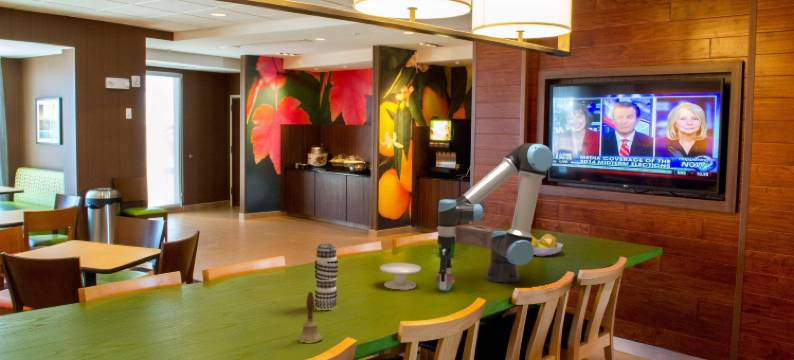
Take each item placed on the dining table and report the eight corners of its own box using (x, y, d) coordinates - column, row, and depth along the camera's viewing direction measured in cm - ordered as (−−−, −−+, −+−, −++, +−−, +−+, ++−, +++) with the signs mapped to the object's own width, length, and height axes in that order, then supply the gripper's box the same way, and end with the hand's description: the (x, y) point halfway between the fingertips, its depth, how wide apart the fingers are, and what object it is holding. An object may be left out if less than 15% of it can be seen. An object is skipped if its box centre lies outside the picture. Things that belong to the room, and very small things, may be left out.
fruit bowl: (567, 259, 359) (568, 238, 358) (517, 258, 360) (518, 237, 359) (556, 249, 387) (557, 230, 386) (510, 248, 388) (510, 229, 387)
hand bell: (292, 339, 220) (292, 292, 218) (310, 333, 226) (310, 288, 225) (310, 345, 214) (310, 297, 213) (327, 339, 221) (328, 292, 220)
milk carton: (438, 258, 355) (439, 221, 353) (438, 254, 364) (439, 218, 362) (454, 258, 354) (455, 221, 352) (454, 255, 363) (455, 219, 361)
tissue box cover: (455, 241, 405) (456, 225, 404) (471, 239, 414) (472, 223, 413) (487, 248, 385) (487, 231, 384) (503, 246, 395) (504, 229, 394)
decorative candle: (338, 305, 262) (339, 242, 259) (337, 311, 252) (337, 247, 250) (315, 304, 261) (315, 242, 259) (312, 311, 252) (313, 246, 250)
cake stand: (423, 283, 300) (424, 264, 299) (416, 292, 282) (416, 273, 282) (385, 280, 304) (385, 261, 303) (375, 289, 286) (375, 270, 286)
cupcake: (438, 292, 283) (439, 265, 282) (432, 287, 292) (433, 261, 291) (457, 291, 286) (458, 264, 285) (450, 287, 294) (451, 260, 293)
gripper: (442, 230, 298) (440, 278, 300) (433, 239, 276) (431, 291, 278) (458, 231, 297) (457, 280, 299) (451, 240, 275) (449, 292, 277)
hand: (444, 285), depth 289 cm, fingers open, 10 cm apart
